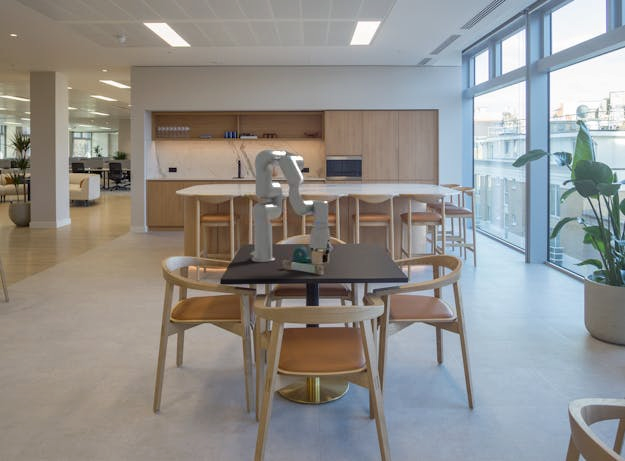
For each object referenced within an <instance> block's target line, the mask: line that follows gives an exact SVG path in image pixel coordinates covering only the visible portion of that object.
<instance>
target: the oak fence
mask: <svg viewBox="0 0 625 461" xmlns="http://www.w3.org/2000/svg"><path fill="white" fill-rule="evenodd" d="M291 262H292V260H282V269H283V270H286V271H287V270H292V269H291ZM314 265H315V273H314V275H317V276H318V275H319V276H323V275H324V271H325V270H324V269H325V266H323V265H319V264H314Z"/></svg>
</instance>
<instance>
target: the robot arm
mask: <svg viewBox="0 0 625 461" xmlns="http://www.w3.org/2000/svg"><path fill="white" fill-rule="evenodd" d="M270 167H280V170H281V171H282V174H283V176H284V178H285V180H286V182H287V184H288V186H289V188H288V200H289V203H290V205H291V207H292V209H293V211H294V212H295V213H296V215H298V216H310V215H311V216H312V215H313V216H312V219H313V220H312V223H311V225H312V228H311V231H310V236H309V237H310V238H309V244H308V247H309V249H310V250H311V252H312V251H317V250H323V253H324V255H323V263H324V264H326V263H325V262H328V254H329V255H330V253H331V251H333V249H334V247H333V246H332V244H331V243H332V242H331V234H330V233H331V232H330V229H329V202H328V201H327V200H316V199H304V200H303V197H302V196H301V192H300V187H301V186H302V185H303V184H304V183H305V178H304V176H303V173H302V170H304V168H305V161H304V159H303V157H302V156H300V155H298V154H295V153H292V152H291V151H287V150H283V149H265V150H262V151H260V152H258V154H257V155H256V157H255V160H254V168H255V195H256V197H257V199H259V200H268V201H260V202H257V203H256V204H255V205H254V206H253V207H252V212H251V213H252V217H253V226H254V227H253V228H254V230H253V231H254V250H252V252H250V256H253V257H251V261H252V262H256V263H257V262H258V263H268V262H269V263H270V262H271V263H272V262H274V261H275V260H276V257H274V256H273V225H272V223H271V220H273V219H278V218H280V216H282V212H283V188H282V185H281V184H280V183H279V182H278V181H273V180H272V177H273V174H272V170H271V168H270ZM325 250H326V251H325Z"/></svg>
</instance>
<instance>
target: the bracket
mask: <svg viewBox="0 0 625 461" xmlns="http://www.w3.org/2000/svg"><path fill="white" fill-rule="evenodd" d="M300 253H301V254H300ZM308 255H309V254H308V249H307V248H306V247H305V246H298V247H297V248H295V249H294V251H293V255H292V258H293V260H292V262H295V263H300V262H308V263H307V264H312V256H308Z"/></svg>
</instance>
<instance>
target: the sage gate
mask: <svg viewBox="0 0 625 461" xmlns="http://www.w3.org/2000/svg"><path fill="white" fill-rule="evenodd" d="M315 265H316V264H314V265H313V264H309V263H300V262H293V261H291V269H290V270H295V271H299V272H305V273H312V274H315Z"/></svg>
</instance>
